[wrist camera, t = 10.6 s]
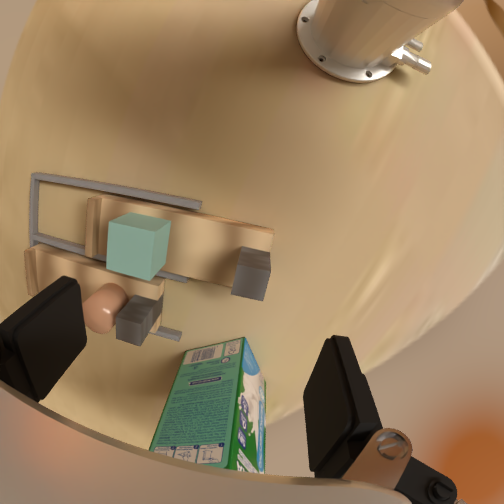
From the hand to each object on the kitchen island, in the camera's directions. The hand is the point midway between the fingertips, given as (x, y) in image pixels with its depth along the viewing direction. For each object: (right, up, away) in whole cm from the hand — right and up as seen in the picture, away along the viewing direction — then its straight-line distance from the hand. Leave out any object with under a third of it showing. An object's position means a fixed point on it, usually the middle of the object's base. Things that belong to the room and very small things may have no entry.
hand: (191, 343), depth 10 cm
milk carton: (-1, -13, +29) cm, 32 cm away
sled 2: (-6, +5, +24) cm, 25 cm away
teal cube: (-9, +5, +21) cm, 24 cm away
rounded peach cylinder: (-15, -3, +24) cm, 29 cm away
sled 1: (-20, -1, +26) cm, 33 cm away
